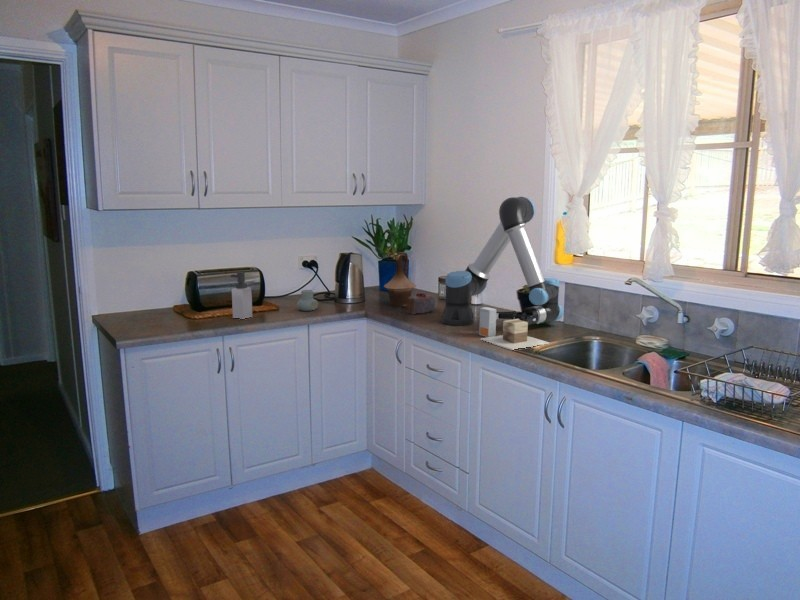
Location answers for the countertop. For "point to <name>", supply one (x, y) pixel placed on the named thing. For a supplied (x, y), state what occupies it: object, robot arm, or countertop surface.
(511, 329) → the upper block
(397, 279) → the brown vase
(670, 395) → the countertop surface
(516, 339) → the lower block
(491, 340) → the plate
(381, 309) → the countertop surface
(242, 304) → the soap dispenser
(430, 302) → the food item
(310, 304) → the air freshener
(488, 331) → the skincare box
